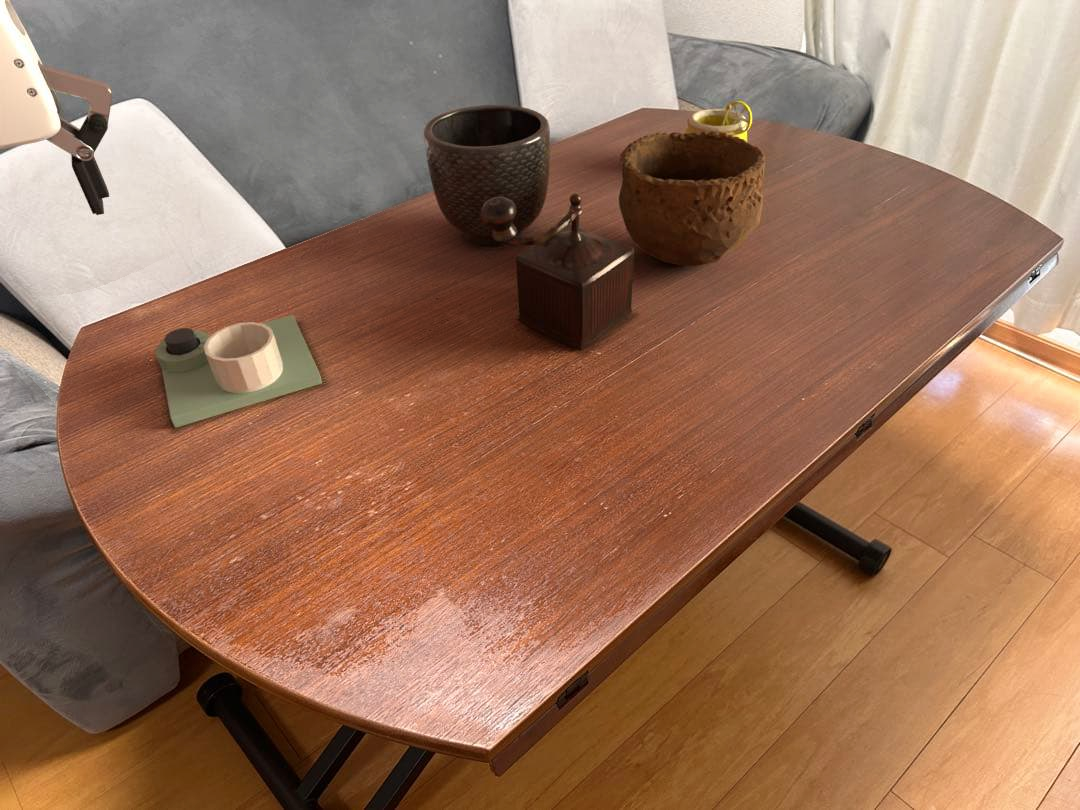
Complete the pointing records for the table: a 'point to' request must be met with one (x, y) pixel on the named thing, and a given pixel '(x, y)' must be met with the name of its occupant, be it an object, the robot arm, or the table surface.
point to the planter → (488, 165)
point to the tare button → (181, 341)
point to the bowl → (691, 194)
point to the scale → (203, 398)
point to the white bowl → (244, 357)
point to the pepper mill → (566, 276)
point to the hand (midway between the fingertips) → (28, 222)
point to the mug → (721, 121)
